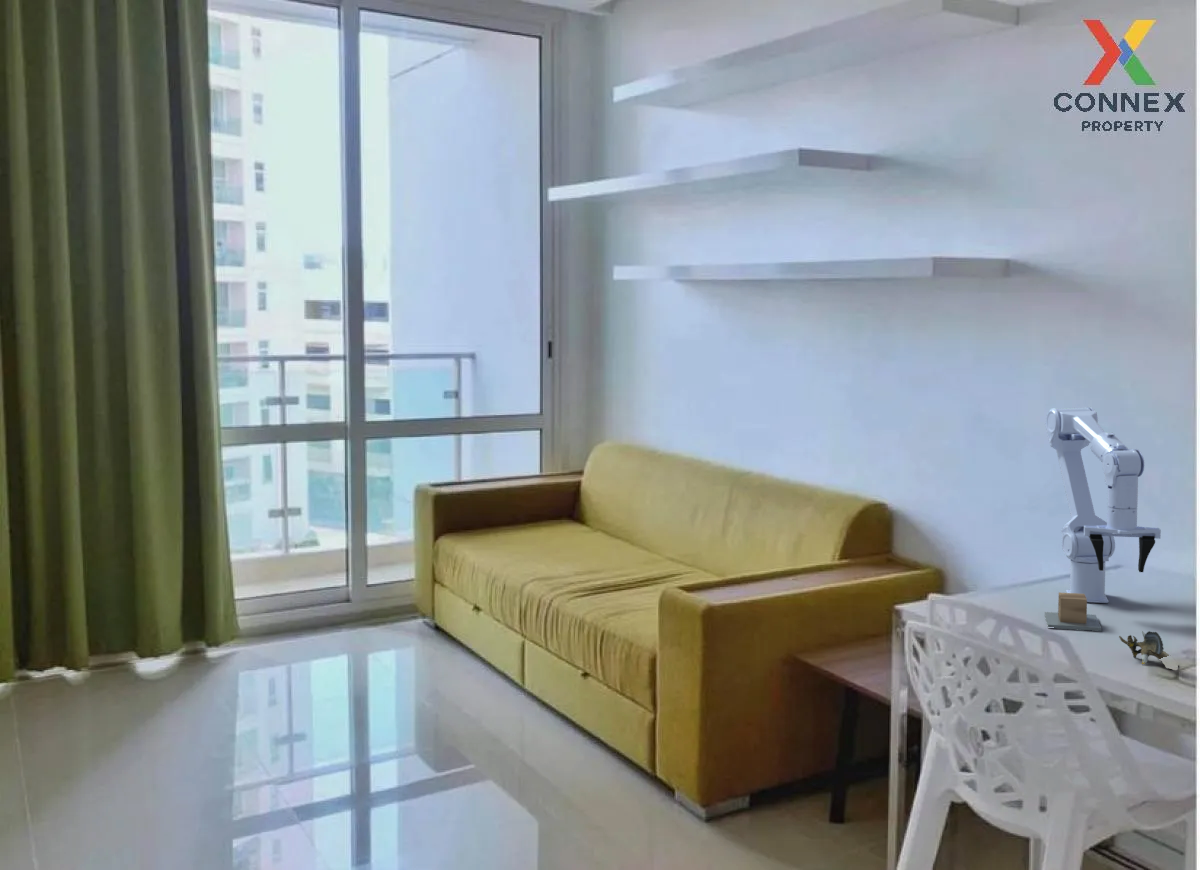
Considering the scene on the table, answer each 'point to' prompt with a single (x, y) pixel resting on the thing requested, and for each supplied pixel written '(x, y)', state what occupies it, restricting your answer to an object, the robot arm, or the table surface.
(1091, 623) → the slate coaster
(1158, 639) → the eagle figurine
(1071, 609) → the walnut cube
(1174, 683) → the table surface
